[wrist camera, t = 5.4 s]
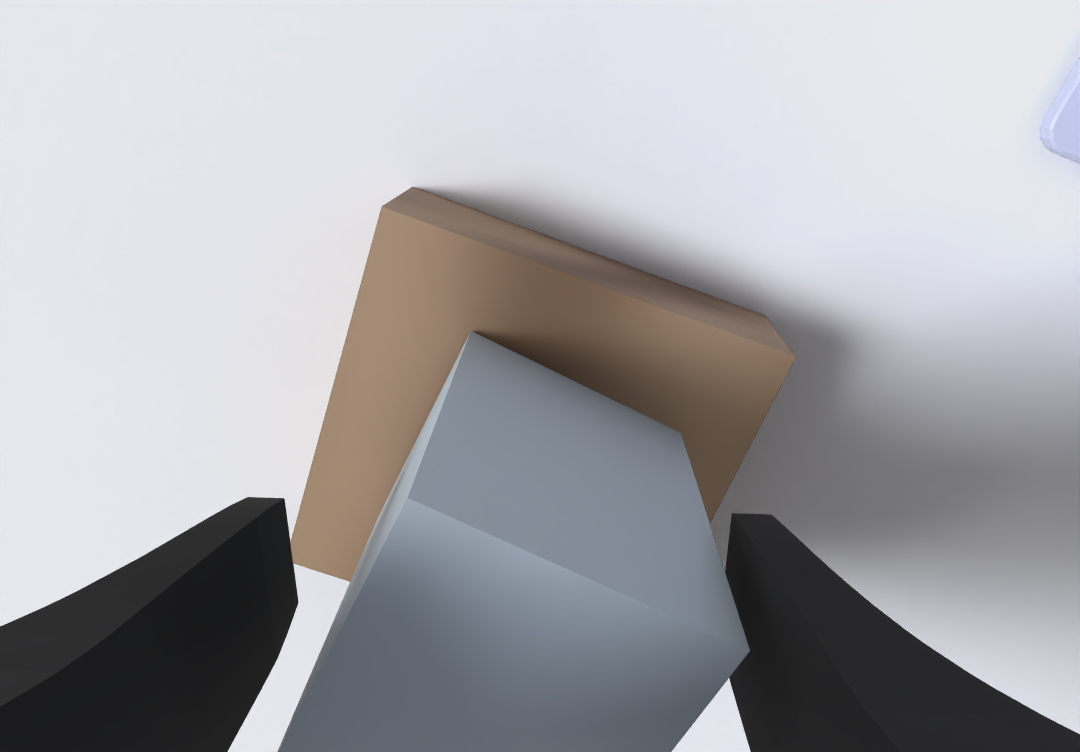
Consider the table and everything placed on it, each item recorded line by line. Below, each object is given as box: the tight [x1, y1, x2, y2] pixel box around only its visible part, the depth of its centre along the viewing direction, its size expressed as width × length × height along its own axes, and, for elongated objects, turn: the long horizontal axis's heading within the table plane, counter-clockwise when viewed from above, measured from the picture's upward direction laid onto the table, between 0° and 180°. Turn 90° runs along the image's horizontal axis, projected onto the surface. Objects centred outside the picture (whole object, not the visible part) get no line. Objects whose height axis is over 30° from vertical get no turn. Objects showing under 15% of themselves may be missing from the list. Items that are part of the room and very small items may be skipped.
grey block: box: [278, 331, 750, 752], centre depth 12 cm, size 4×4×6 cm
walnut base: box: [290, 187, 796, 582], centre depth 17 cm, size 8×8×3 cm
